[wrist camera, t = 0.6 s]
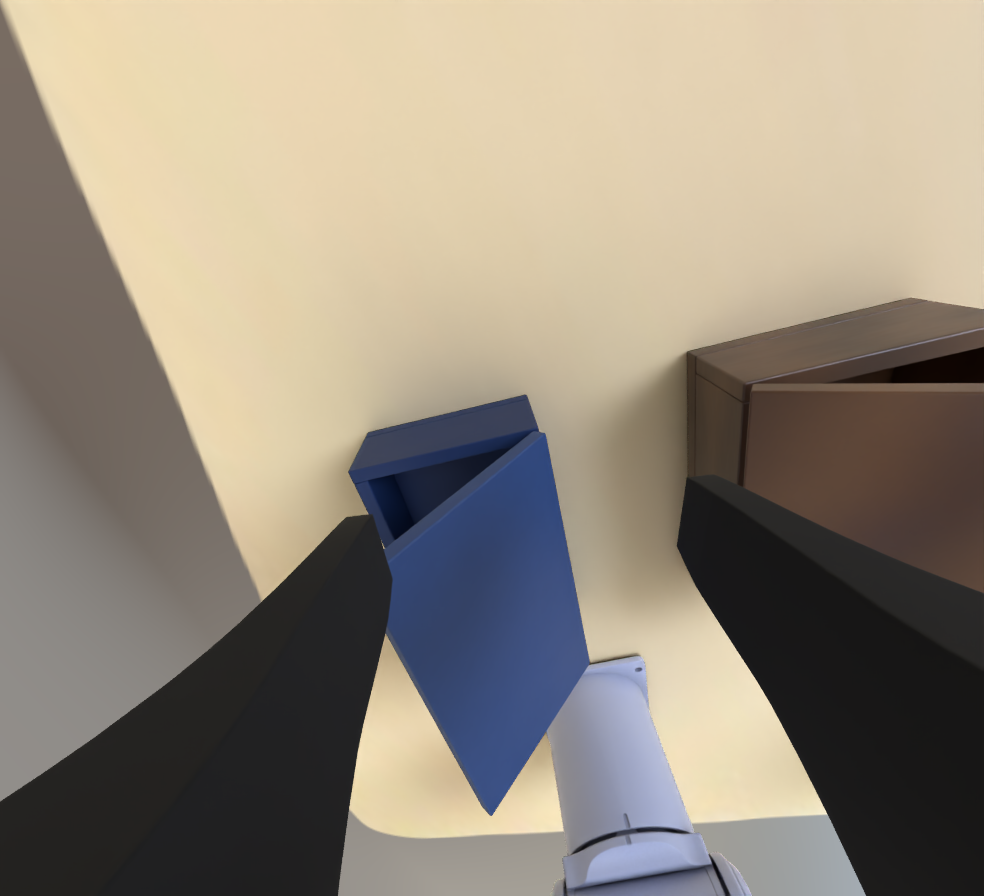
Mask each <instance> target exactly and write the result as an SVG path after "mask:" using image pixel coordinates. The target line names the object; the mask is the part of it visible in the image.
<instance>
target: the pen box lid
mask: <svg viewBox="0 0 984 896" xmlns="http://www.w3.org/2000/svg"><path fill="white" fill-rule="evenodd" d="M743 488H746V489H748V490H750V491H752V492H754V493H756V494H758V495H760V496H762V497H764V498H766V499H768V500H770V501H772V502H774V503H776V504H778V505H780V506H782V507H784V508H786V509H788V510H790V511H792V512H794V513H796V514H798V515H800V516H802V517H804V518H806V519H808V520H811V521H813V522H815V523H817V524H819V525H821V526H823V527H825V528H827V529H830V530H832V531H834V532H836V533H838V534H840V535H842V536H845V537H847V538H849V539H851V540H854V541H856V542H858V543H860V544H863V545H865V546H867V547H870V548H872V549H874V550H876V551H879V552H881V553H883V554H885V555H888V556H890V557H892V558H895V559H897V560H900V561H902V562H905V563H907V564H909V565H912V566H914V567H917V568H919V569H922V570H925V571H927V572H930V573H932V574H935V575H938V576H940V577H943V578H945V579H948V580H951V581H953V582H956V583H958V584H961V585H964V586H966V587H969V588H972V589H974V590H977V591H980V592H982V593H984V383H871V384H753V385H752V387H751V392H750V404H749V417H748V430H747V443H746V457H745V470H744V483H743Z"/></svg>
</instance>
